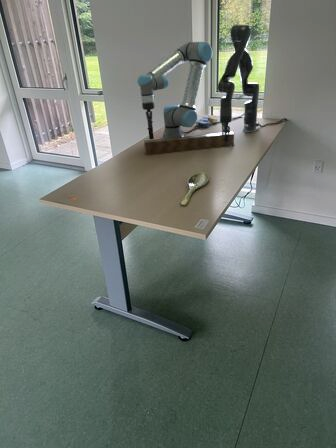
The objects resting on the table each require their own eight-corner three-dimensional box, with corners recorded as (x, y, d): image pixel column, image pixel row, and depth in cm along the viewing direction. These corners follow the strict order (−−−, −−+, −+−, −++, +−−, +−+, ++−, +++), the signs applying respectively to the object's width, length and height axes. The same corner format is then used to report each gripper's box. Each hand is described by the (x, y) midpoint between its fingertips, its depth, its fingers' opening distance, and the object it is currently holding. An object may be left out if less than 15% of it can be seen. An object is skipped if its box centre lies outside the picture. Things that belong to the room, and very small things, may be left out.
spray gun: (219, 120, 278) (203, 120, 284) (219, 115, 276) (202, 115, 282) (211, 128, 263) (193, 127, 269) (211, 122, 261) (193, 122, 267)
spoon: (193, 209, 156) (193, 205, 155) (172, 207, 159) (171, 203, 158) (212, 175, 182) (212, 172, 181) (193, 174, 186) (193, 170, 184)
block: (145, 154, 222) (144, 142, 217) (145, 152, 226) (144, 140, 222) (233, 145, 223) (234, 133, 219) (232, 143, 228) (232, 131, 223)
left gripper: (154, 105, 196) (158, 141, 207) (153, 97, 218) (155, 130, 228) (142, 106, 196) (145, 142, 207) (141, 99, 217) (145, 131, 228)
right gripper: (234, 116, 209) (233, 142, 218) (228, 111, 221) (228, 136, 230) (222, 117, 208) (222, 144, 217) (217, 112, 221) (217, 137, 230)
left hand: (151, 136), depth 218 cm, fingers open, 13 cm apart
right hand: (225, 140), depth 223 cm, fingers closed on block, 5 cm apart
